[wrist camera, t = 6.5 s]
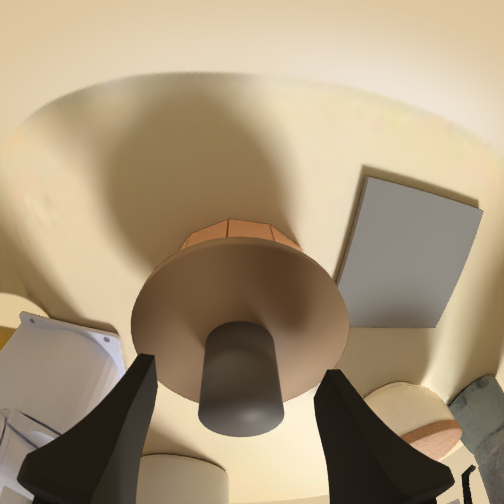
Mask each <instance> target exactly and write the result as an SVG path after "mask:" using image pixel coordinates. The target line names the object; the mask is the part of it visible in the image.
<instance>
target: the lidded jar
mask: <svg viewBox="0 0 504 504" xmlns="http://www.w3.org/2000/svg"><path fill="white" fill-rule="evenodd" d="M363 400H364V401H365V402H366V403H367V405H368V406H369V407H370V408H371V409H372V410H373V412H374V413H375V414H376V415H377V416H378V417H379V418H380V419H381V420H382V421H383V422H384V423H385V424H386V425H387V426H388V427H389V428H390V429H391V430H392V431H393V432H395V433H396V434H397V435H398V436H399V437H400V438H402V439H403V440H404V441H406V442H407V443H408V444H410V445H411V446H412V447H414V448H415V449H417V450H418V451H420V452H421V453H423V454H425V455H426V456H428V457H430V458H431V459H433V460H435V461H437V460H439V459H440V458H441V457H443V456H444V455H445V454H446V453H448V452H449V451H450V450H451V449H452V448H453V447H454V446H455V445H456V443H457V442H458V441H459V439H460V438H461V435H462V428H461V426H460V425H459V423H458V422H457V421H456V420H455V418H454V416H453V414H452V413H451V411H450V409H449V408H448V406H447V405H446V404H445V402H444V401H443V400H442V399H441V398H440V397H439V396H438V395H437V394H436V393H434V392H433V391H431V390H430V389H428V388H426V387H423V386H420V385H414V384H409V383H407V382H394V383H390V384H387V385H385V386H382V387H380V388H378V389H376V390H375V391H373V392H371V393H370V394H369V395H367V396H366V397H365V398H364V399H363Z"/></svg>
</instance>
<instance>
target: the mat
mask: <svg viewBox="0 0 504 504" xmlns="http://www.w3.org/2000/svg"><path fill="white" fill-rule="evenodd" d="M482 214H483V210H481V209H479V208H476V207H473V206H470V205H467V204H464V203H461V202H458V201H455V200H452V199H449V198H446V197H443V196H439V195H436V194H433V193H430V192H426V191H423V190H419V189H416V188H412V187H409V186H405V185H401V184H398V183H394V182H390V181H386V180H382V179H378V178H374V177H370V176H366V175H365V180H364V184H363V188H362V192H361V196H360V200H359V204H358V208H357V212H356V216H355V220H354V223H353V227H352V231H351V234H350V238H349V241H348V245H347V248H346V252H345V255H344V259H343V262H342V265H341V268H340V272H339V275H338V278H337V281H336V286H337V288H338V290H339V292H340V294H341V296H342V298H343V300H344V302H345V305H346V308H347V311H348V318H349V327H375V328H435V327H436V325H437V323H438V321H439V319H440V317H441V315H442V313H443V311H444V309H445V307H446V305H447V303H448V301H449V299H450V297H451V295H452V293H453V290H454V288H455V286H456V284H457V282H458V279H459V277H460V275H461V272H462V270H463V267H464V265H465V262H466V260H467V257H468V255H469V252H470V249H471V247H472V244H473V241H474V238H475V236H476V233H477V230H478V227H479V224H480V221H481V218H482Z"/></svg>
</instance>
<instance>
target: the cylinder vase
mask: <svg viewBox="0 0 504 504" xmlns="http://www.w3.org/2000/svg"><path fill="white" fill-rule="evenodd" d="M136 504H229V478H228V475H227V474H226V472H225V471H223V470H222V469H221V468H219V467H218V466H216V465H213V464H211V463H208V462H206V461H202V460H199V459H195V458H190V457H185V456H178V455H168V454H154V455H147V456H143V457H141V460H140V467H139V474H138V483H137V494H136Z"/></svg>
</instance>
